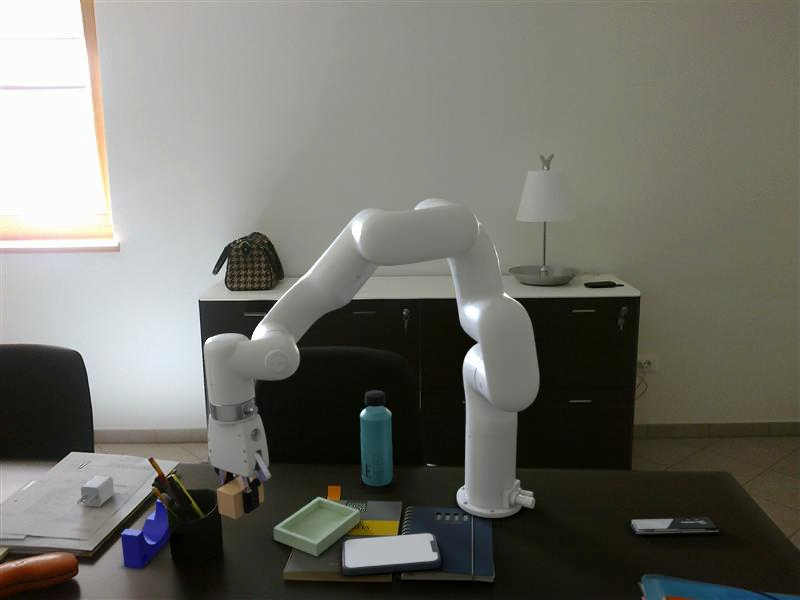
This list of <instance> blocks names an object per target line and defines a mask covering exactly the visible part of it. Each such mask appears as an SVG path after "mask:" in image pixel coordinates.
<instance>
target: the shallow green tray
mask: <svg viewBox="0 0 800 600" xmlns="http://www.w3.org/2000/svg"><path fill="white" fill-rule="evenodd" d="M359 523H361V510H360V509H357V508H353V507H350V506H347V505H346V504H345V505H344V504H342V503H338V502H335V501H332V500H329V499H328V498H327V499H326V498H324V497H320V496H317V497H316V498H315V499H313V500H312V501H311V502H309V503H308V504H306V505H305V506H303V507H302V508H300V509H298V510H297V511H296V512H294V513H293V514H292V515H290V516H289V517H287V518H286V519H284V520H283V521H281V522H280V523H279V524H277V525H276V526H274V527H273V540H274V541H276V542H279V543H281V544H283V545H286V546H289V547H292V548H294V549H296V550H299V551H301V552H305V553H307V554H310V555H312V556H315V557H318V556H319V555H321V554H322V553H324V551H326V550H327V549H328V548H329V547H331V546H332V545H333V544H334V543H336V542H337V541H338V540H339V539H341V538H343V536H344V535H345V534H347V533H349V531H351V530H352V529H353V528H354V527H356V526H357V525H358V524H359Z"/></svg>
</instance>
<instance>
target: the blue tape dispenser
mask: <svg viewBox="0 0 800 600" xmlns="http://www.w3.org/2000/svg"><path fill="white" fill-rule="evenodd" d="M170 538H171V537H170V535H169V526H168V518H167V510H166V508H165V506H164V505H163V503H162V502H161V501H160V500H159V498H157V499H156V500H155V510H154V511H153V512H152V513H150V515H149V516H148V517H147V518H145V521H144V523H143V526H142V528H141V530H139V529H131V528H126V529H124V530H123V531H122V532H121V533H120V539H121V549H122V556H123V557H122V559H123V565H124V568H133V569H139V570H140V569H143V567H144V566H146V565H147V563H148V562H149V561H150V560H151V559H152V558H153V557H154V556H155V554H156V553H157V552H158V551H159V550H160V549H161V548H162V547H163V546H164V545H165V544H166V543H167V542H168V541H169V540H170Z"/></svg>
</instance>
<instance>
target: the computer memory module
mask: <svg viewBox="0 0 800 600" xmlns="http://www.w3.org/2000/svg"><path fill="white" fill-rule="evenodd" d="M629 525H630V527H631V529H632V531H633V532H634V534H635V535H636V536H645V535H646V536H647V535H648V536H652V535H680V534H681V535H688V534H689V535H693V534H721V531H720V529H719V528H718V527H717V526H716V525H715V524H714V522H713V521H712V520H711V519H710V518H709V517H708V516H699V517H698V518H697V517H694V516H693V517H690V516H689V519H688V517H673V518H653V519H652V518H650V519H649V518H648V519H646V518H645V519H631V523H630V524H629Z"/></svg>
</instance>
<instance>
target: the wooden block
mask: <svg viewBox="0 0 800 600" xmlns="http://www.w3.org/2000/svg"><path fill="white" fill-rule="evenodd" d="M235 478H236V479H235ZM235 478H234V480H232V481H231V482H229V483H227V484H226V485H224V486H223V485H221V487H219V488H217V489H216V496H217V506H218V514H220V515H223V516H225V517H228V518H230V519H234V520H237V519H239V518H240V517H242V516H243V515H245V514H246V513H244V505H243V492H244V491H245V489H244V485H243V481H242V476H241V475H238V477H235ZM249 479H250V482H251V481H252V480H253V478H252V477H249ZM258 491H259V503H260V504H262V503H263V502H265V493H264V492H265V491H264V482H263V483H262V484H261V486H259V487H258Z"/></svg>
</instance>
